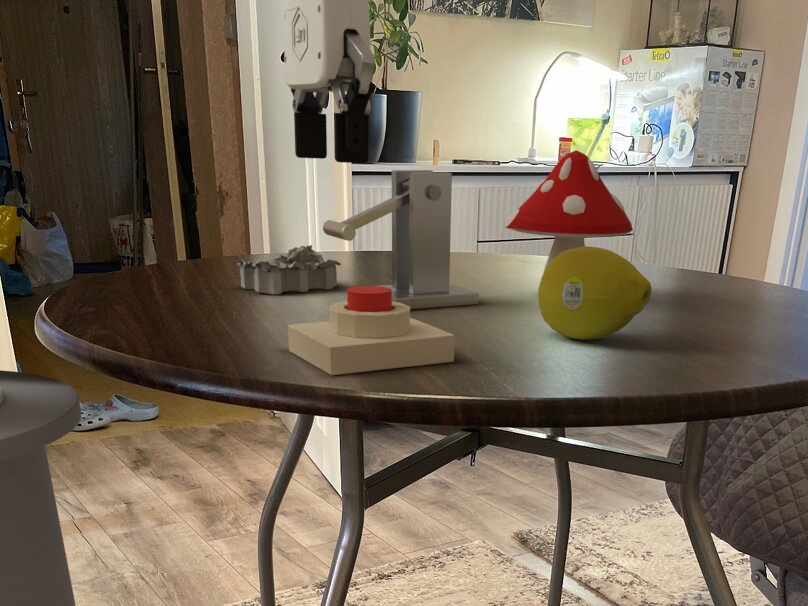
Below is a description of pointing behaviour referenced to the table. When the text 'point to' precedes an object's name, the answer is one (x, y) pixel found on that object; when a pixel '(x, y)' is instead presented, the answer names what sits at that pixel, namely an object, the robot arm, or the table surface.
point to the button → (369, 299)
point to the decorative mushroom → (571, 207)
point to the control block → (369, 341)
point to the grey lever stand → (424, 243)
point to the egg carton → (289, 272)
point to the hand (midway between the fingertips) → (330, 160)
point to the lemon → (591, 293)
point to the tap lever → (367, 216)
